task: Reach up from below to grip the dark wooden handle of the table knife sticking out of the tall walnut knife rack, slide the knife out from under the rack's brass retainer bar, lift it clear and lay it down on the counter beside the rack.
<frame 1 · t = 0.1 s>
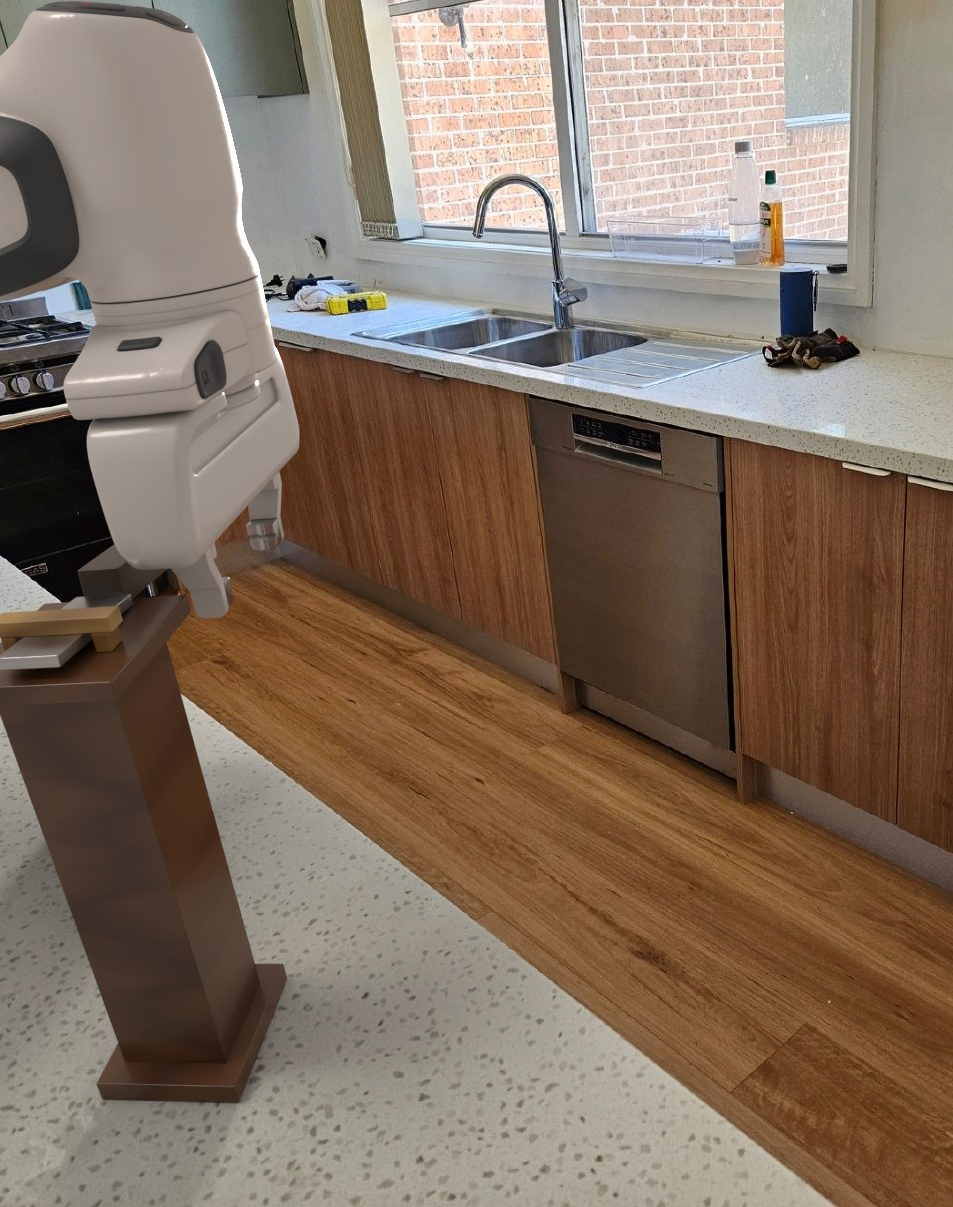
hand: (244, 577, 63), 23 cm above the countertop, tool pointing down, fingers open, 8 cm apart
knife: (127, 588, 57), point 26 cm above the countertop, touching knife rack
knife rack: (199, 1035, 62), on the countertop
coffee box: (139, 805, 85), on the countertop
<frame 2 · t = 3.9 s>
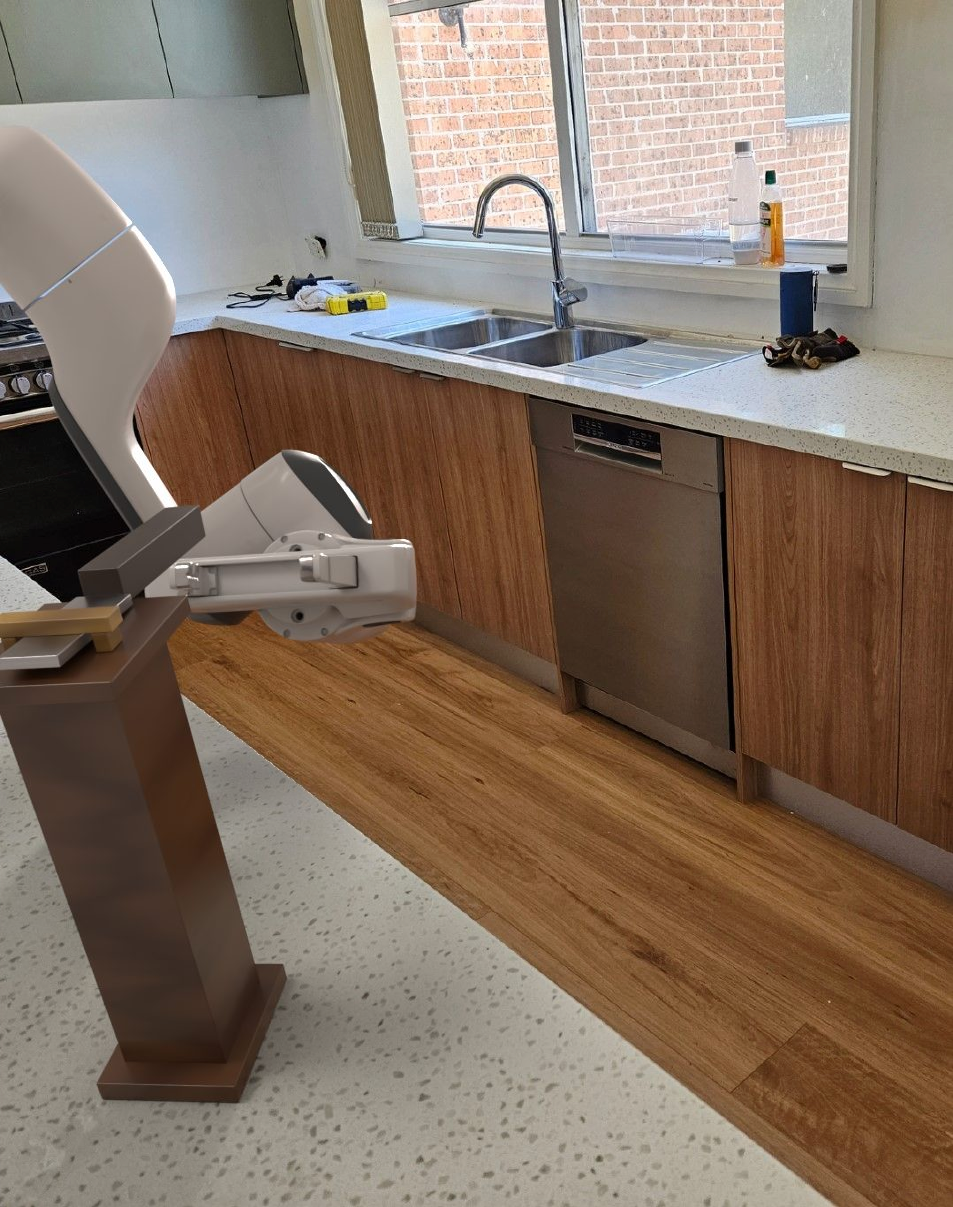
hand: (243, 571, 73), 20 cm above the countertop, tool pointing upward, fingers open, 8 cm apart
nothing on the countertop moved.
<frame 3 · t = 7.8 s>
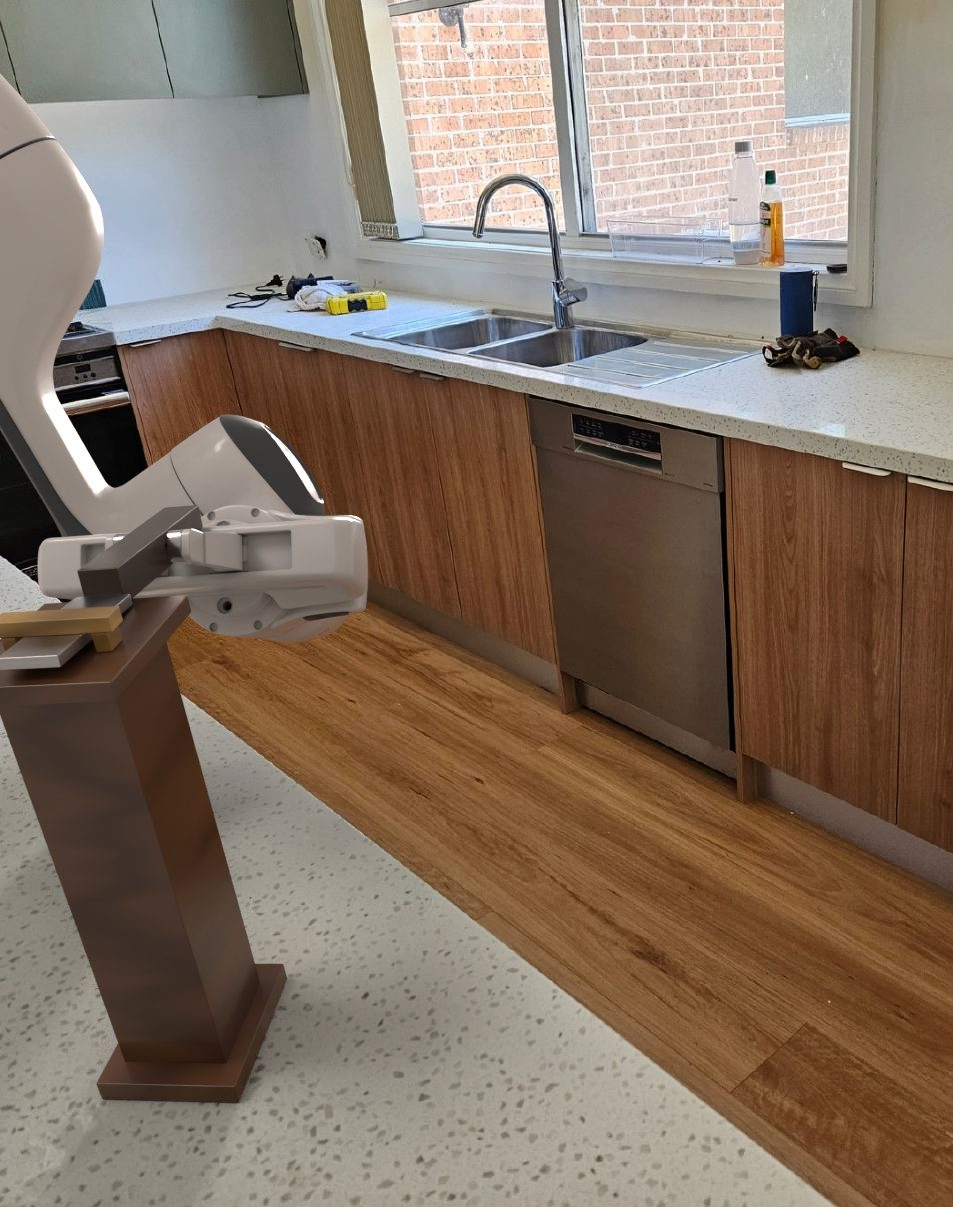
hand: (147, 546, 59), 27 cm above the countertop, tool pointing upward, fingers closed on knife, 2 cm apart
knife: (127, 588, 57), point 26 cm above the countertop, touching gripper, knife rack
coffee box: (135, 795, 85), point 1 cm above the countertop, touching arm
everything else where it was.
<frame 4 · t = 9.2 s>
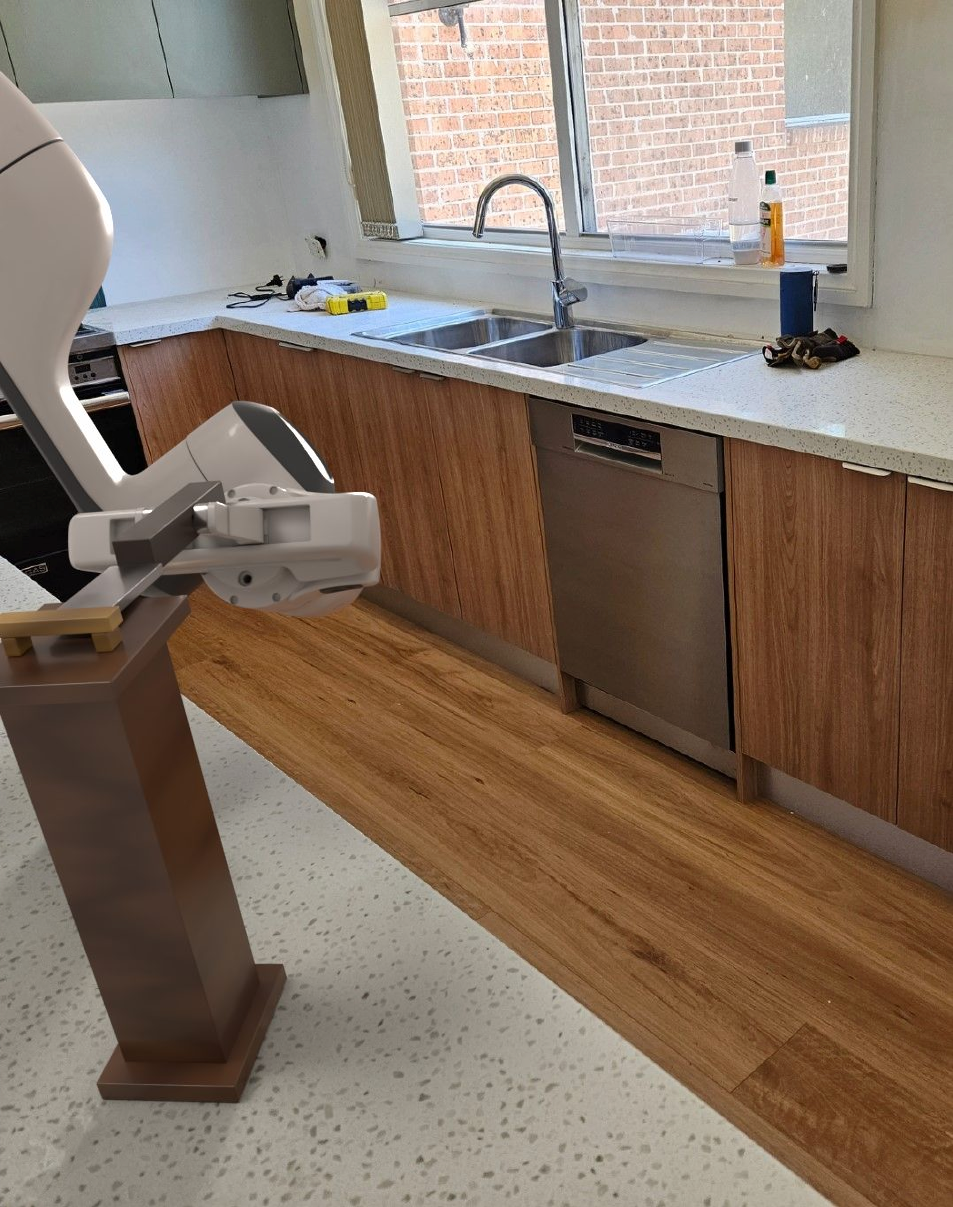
hand: (175, 518, 63), 27 cm above the countertop, tool pointing upward, fingers closed on knife, 2 cm apart
knife: (157, 558, 60), point 26 cm above the countertop, touching gripper
coffee box: (139, 805, 85), on the countertop
everything else where it was.
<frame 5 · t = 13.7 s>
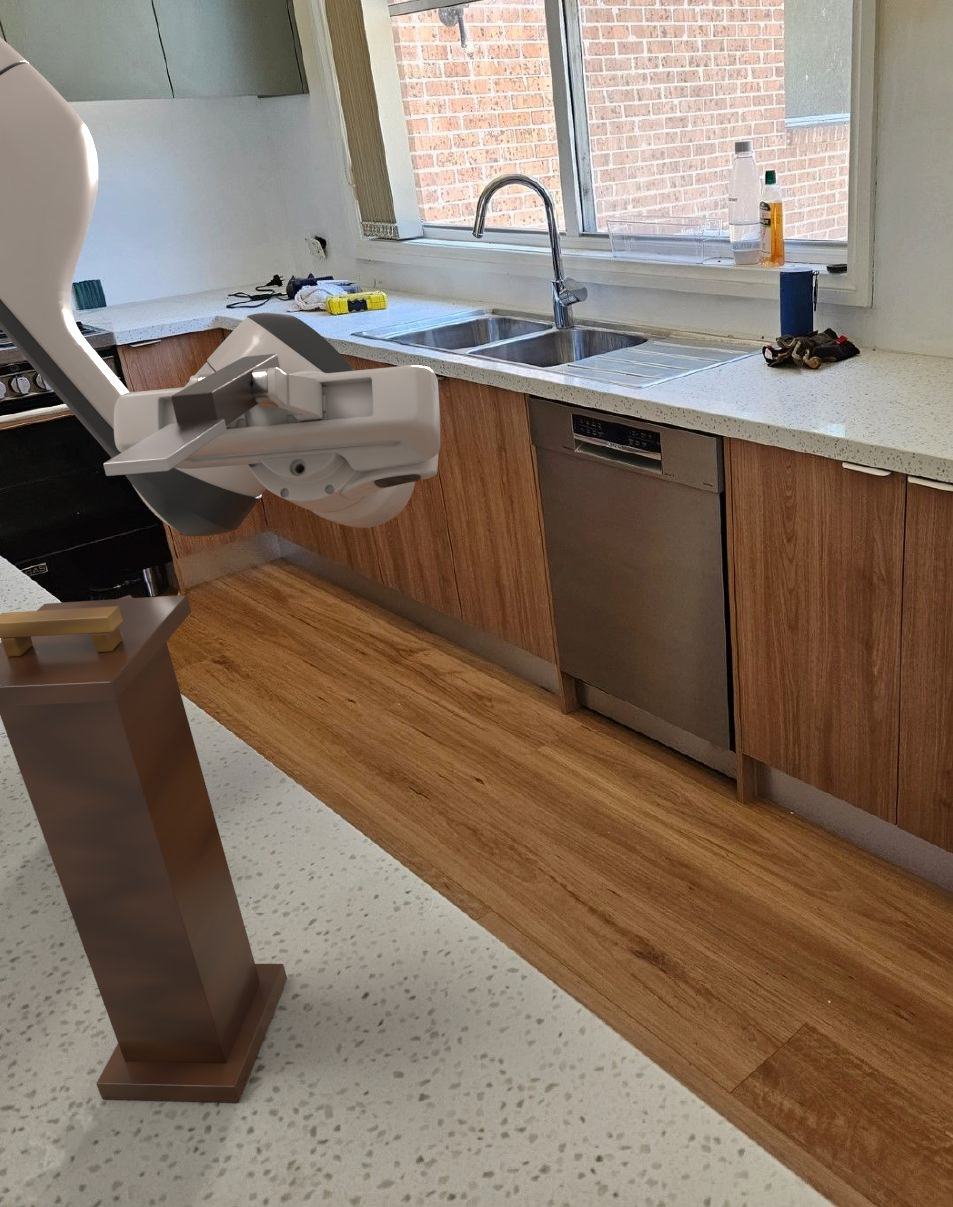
hand: (232, 385, 59), 34 cm above the countertop, tool pointing upward, fingers closed on knife, 2 cm apart
knife: (216, 421, 57), point 33 cm above the countertop, touching gripper
everything else where it was.
when the fingers open (15 cm above the countertop, at t = 19.6 s): knife drops 14 cm, on the countertop.
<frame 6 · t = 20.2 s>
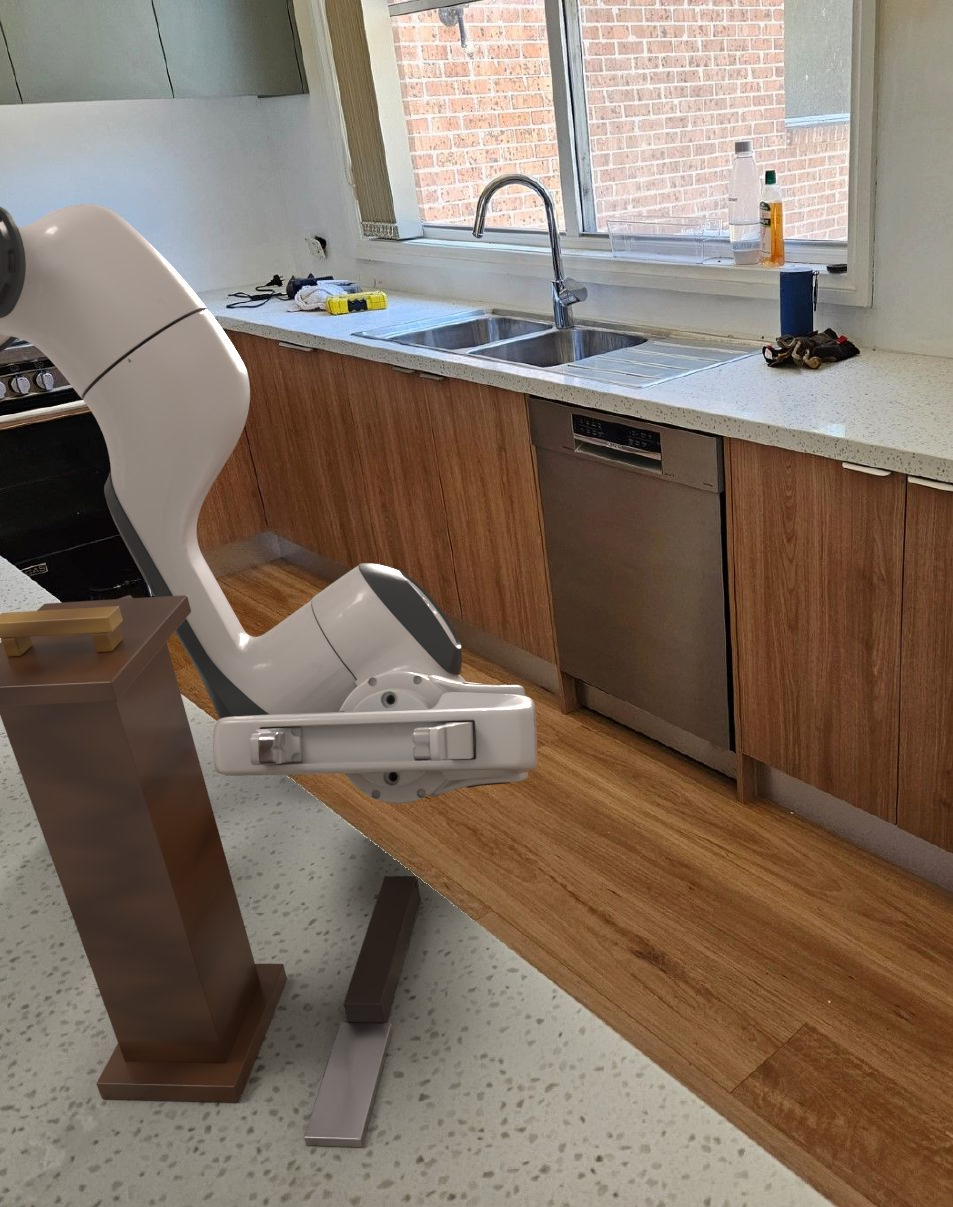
hand: (342, 747, 60), 15 cm above the countertop, tool pointing upward, fingers open, 8 cm apart
knife: (376, 996, 63), on the countertop
everything else where it was.
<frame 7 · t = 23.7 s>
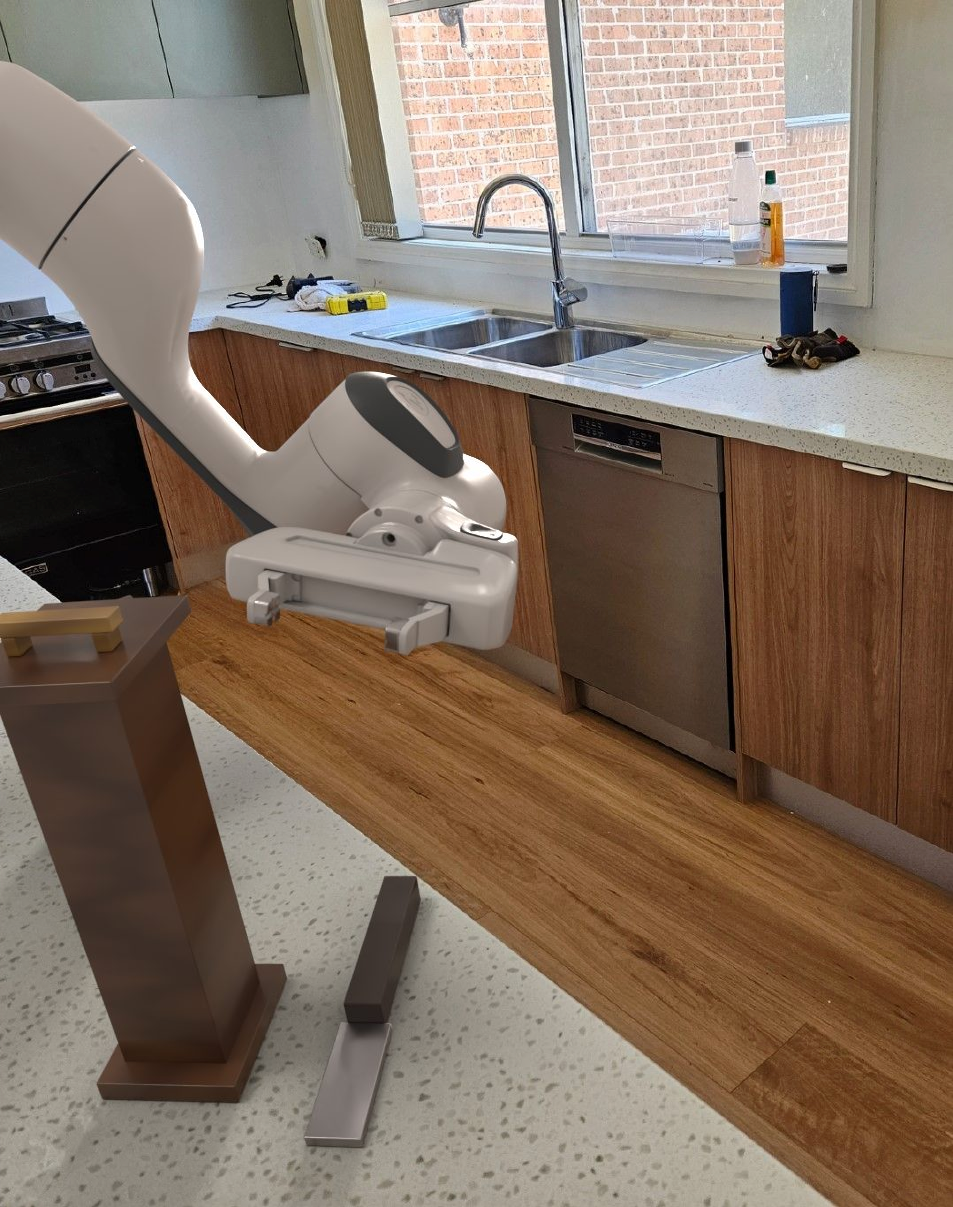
hand: (324, 628, 67), 18 cm above the countertop, tool horizontal, fingers open, 8 cm apart
nothing on the countertop moved.
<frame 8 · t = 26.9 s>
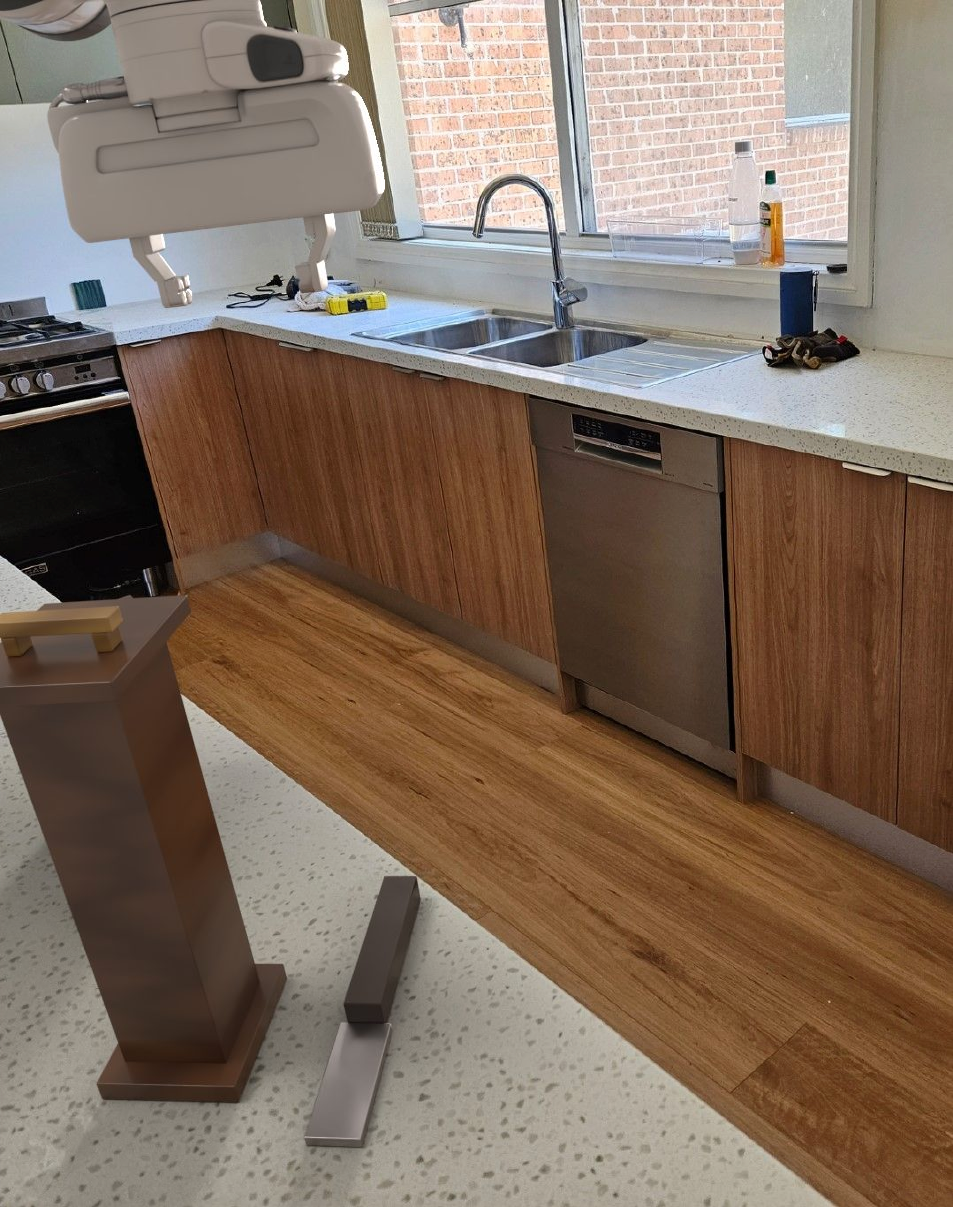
hand: (245, 298, 71), 37 cm above the countertop, tool pointing down, fingers open, 8 cm apart
nothing on the countertop moved.
at the end: knife inside the target area (0.0 cm from its centre), on the countertop; the gripper is holding nothing; knife moved 28.0 cm from its start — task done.
